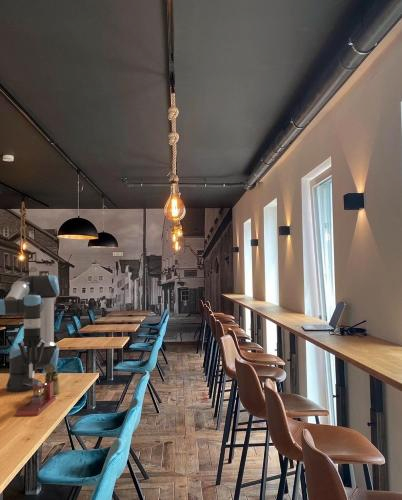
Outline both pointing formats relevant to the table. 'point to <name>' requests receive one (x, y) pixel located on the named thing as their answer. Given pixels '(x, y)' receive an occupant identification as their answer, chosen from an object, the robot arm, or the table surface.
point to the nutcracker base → (38, 407)
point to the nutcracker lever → (33, 383)
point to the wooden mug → (51, 378)
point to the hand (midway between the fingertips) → (31, 377)
